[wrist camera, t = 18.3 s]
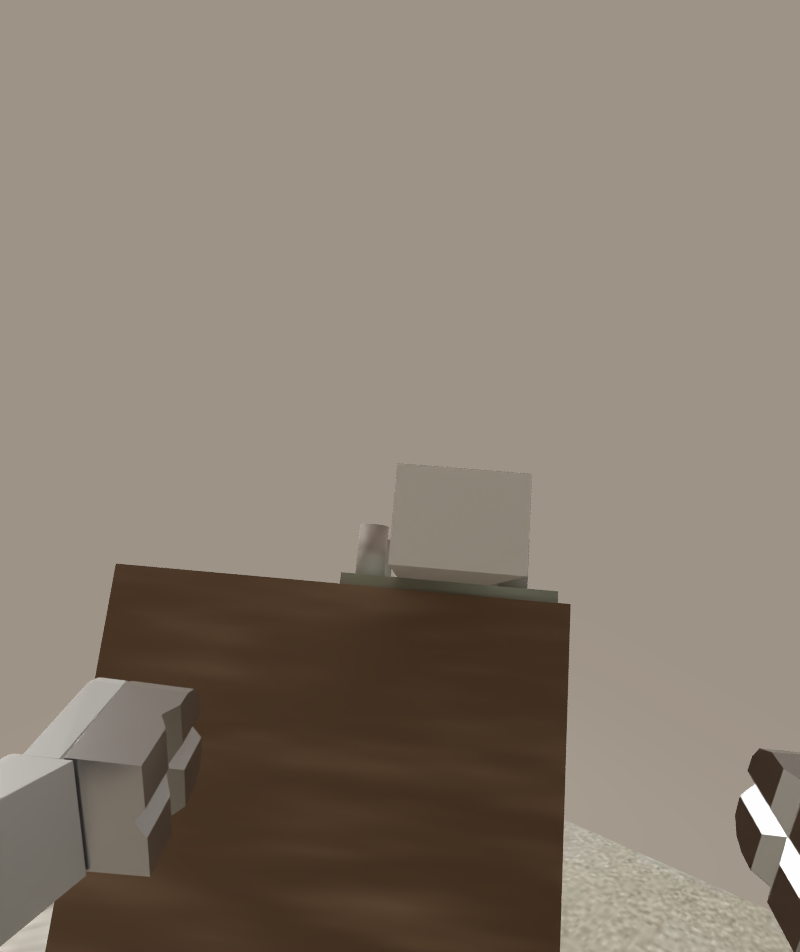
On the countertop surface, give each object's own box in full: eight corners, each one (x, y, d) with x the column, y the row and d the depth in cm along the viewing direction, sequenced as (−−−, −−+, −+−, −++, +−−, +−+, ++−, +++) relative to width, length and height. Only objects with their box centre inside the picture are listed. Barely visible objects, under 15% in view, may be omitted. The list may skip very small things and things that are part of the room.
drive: (403, 585, 39) (407, 537, 40) (465, 590, 39) (468, 542, 39) (387, 564, 17) (397, 459, 18) (527, 576, 17) (532, 470, 18)
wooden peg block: (151, 1026, 35) (224, 532, 41) (494, 1068, 34) (519, 557, 40) (-18, 1295, 22) (127, 497, 27) (546, 1377, 21) (572, 534, 27)
